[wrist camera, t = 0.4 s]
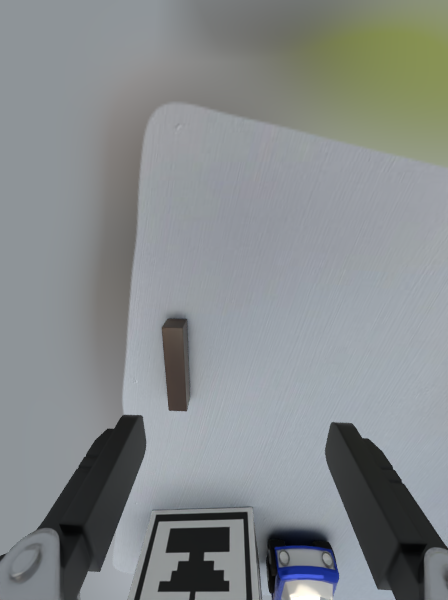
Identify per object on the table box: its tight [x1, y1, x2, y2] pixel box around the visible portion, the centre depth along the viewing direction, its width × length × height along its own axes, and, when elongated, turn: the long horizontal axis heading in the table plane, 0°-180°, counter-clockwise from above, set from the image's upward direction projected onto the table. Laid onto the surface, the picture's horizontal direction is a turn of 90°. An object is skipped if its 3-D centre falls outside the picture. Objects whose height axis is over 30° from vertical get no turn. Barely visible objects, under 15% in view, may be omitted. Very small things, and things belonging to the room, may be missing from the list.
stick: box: [162, 319, 190, 411], centre depth 23 cm, size 2×10×2 cm, turn 179°
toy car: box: [266, 539, 339, 600], centre depth 30 cm, size 9×12×10 cm
